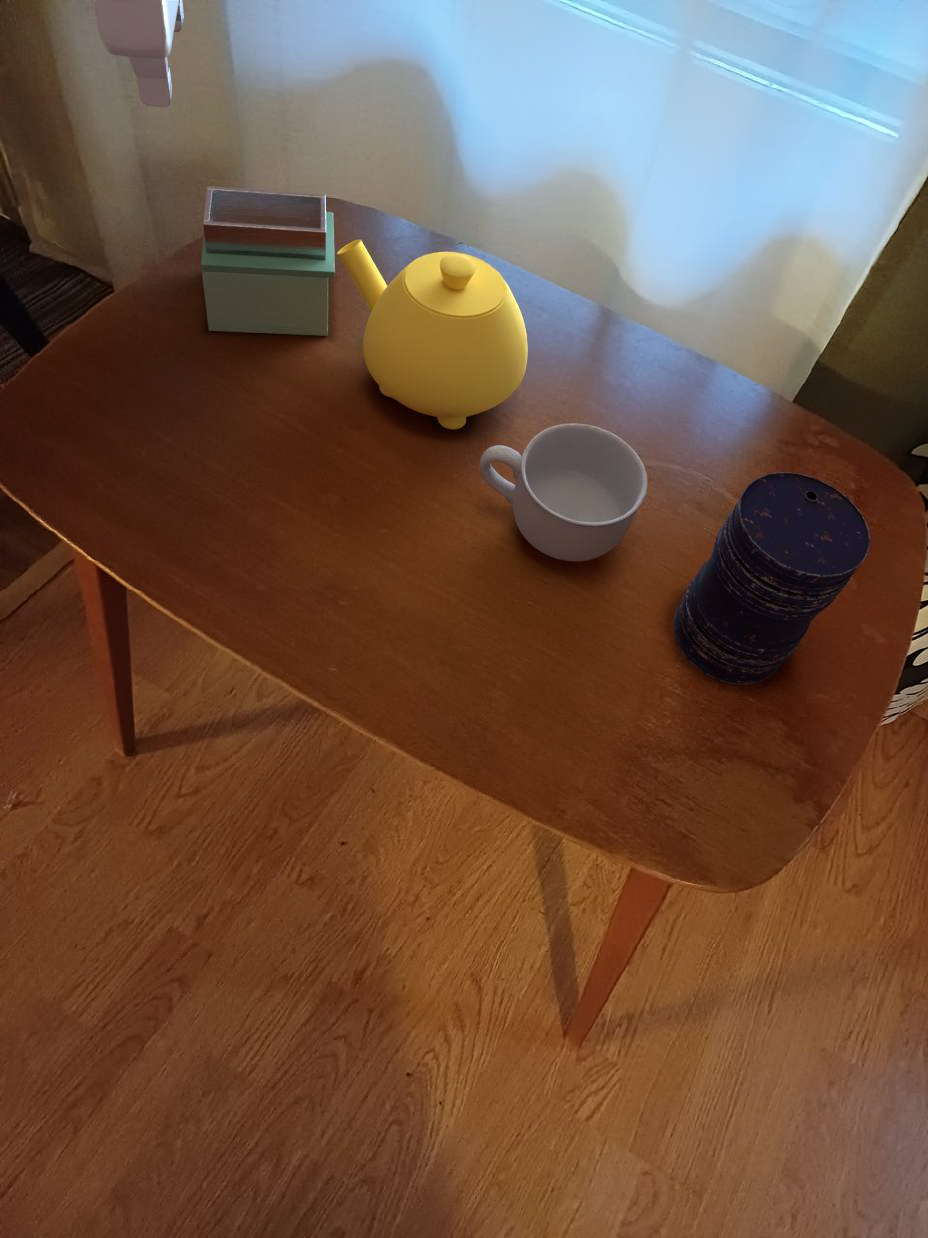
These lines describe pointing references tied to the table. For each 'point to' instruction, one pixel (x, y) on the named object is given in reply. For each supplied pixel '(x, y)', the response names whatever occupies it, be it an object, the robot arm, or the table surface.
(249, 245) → the open storage tray
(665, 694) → the table surface
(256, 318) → the lunchbox
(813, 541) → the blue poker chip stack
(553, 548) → the teacup
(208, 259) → the lunchbox lid
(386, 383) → the teapot
